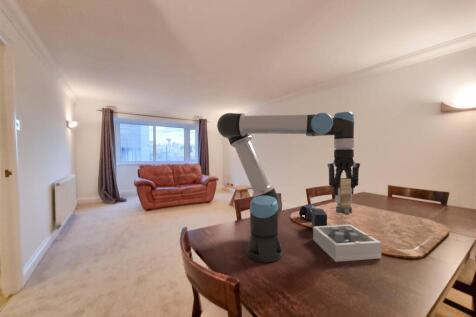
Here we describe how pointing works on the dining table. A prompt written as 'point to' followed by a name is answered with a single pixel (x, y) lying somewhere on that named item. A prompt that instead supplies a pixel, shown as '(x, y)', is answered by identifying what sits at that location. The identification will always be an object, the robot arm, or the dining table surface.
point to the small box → (319, 218)
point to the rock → (306, 211)
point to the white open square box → (347, 244)
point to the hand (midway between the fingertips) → (343, 202)
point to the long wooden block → (344, 197)
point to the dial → (344, 235)
